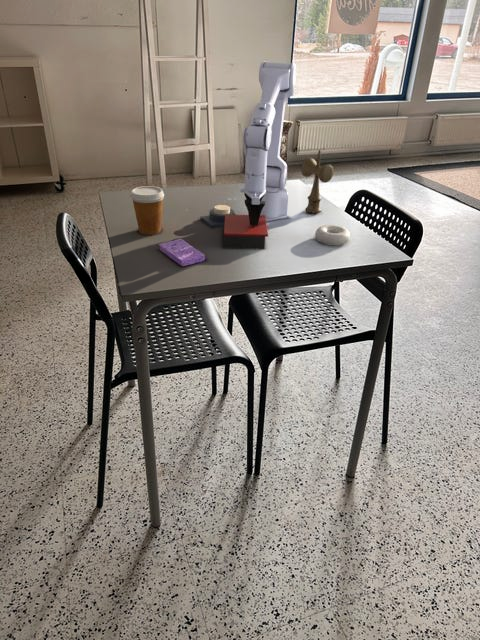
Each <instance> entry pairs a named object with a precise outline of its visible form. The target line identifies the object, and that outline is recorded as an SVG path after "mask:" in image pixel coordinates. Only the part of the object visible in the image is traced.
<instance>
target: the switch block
mask: <svg viewBox="0 0 480 640" xmlns="http://www.w3.org/2000/svg"><path fill="white" fill-rule="evenodd" d="M228 215H237V214H236V213H235V210H234V209H233V208H230V213H229V214H228ZM200 220H201V221H202V222H203V223H205V224H206V225H207V226H209V227H210V228H219V227H224V226H225V215H219V214H215V213H214V208H212V209H209V214H207V215H201V216H200Z"/></svg>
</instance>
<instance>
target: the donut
mask: <svg viewBox="0 0 480 640" xmlns="http://www.w3.org/2000/svg"><path fill="white" fill-rule="evenodd" d="M314 235H315V238H316V240H317V241H318V242H319V243H322V244H323V245H327V246H343V245H345V244H347V243H348V242H349V241H350V239H351V232H350V231H349V230H348V229H347V228H346V227H343V226H342V225H341V226H340V225H335V224H326V225H322V226H319V227H318V228H316V230H315V234H314Z"/></svg>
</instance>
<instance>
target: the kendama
mask: <svg viewBox="0 0 480 640" xmlns="http://www.w3.org/2000/svg"><path fill="white" fill-rule="evenodd" d="M321 152H322V151H321V150H320V149H319V150H318V152H317V157H316V158H317V159H316V160H315V158H313V157H308V158H306V159H304V160H303V161H302V164H301V168H300V171H301V175H302V176H303V177H305V178H306V177H307V178H309V177H312V176H313V175H314V178H313V183H312V186H311V191H310V194H309V195H308V196H307V197H306V198H307V200H308V201H307V202H308V203H307V206H306V207H305V208H304V210H305V212H306V213H308V214H320V213H321V212H322V209H321V207H320V202H321V200H322V197H321V195H320V182H322V183H328V182H330V181H331V180H332V179H333V176H334V166H333V165H332V164H325V165H323V166H321V155H322V153H321Z"/></svg>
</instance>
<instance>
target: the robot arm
mask: <svg viewBox="0 0 480 640" xmlns="http://www.w3.org/2000/svg"><path fill="white" fill-rule="evenodd" d="M296 79H297V65H296V63H295V62H277V61H266V60H263V61H262V62H261V63H260V65H259V69H258V82H259V84H260V88H261V91H262V92H261V97H260V102H258V103H257V104H255V106H254V109H253V111H252V115H251V119H250V122H249V125H248V126H246V127H245V128H244V131H243V137H242V138H243V139H242V143H243V148H244V149H243V153H244V154H243V155H244V156H245V164H244V165H245V166H244V167H245V168H244V187H240V188H239V191H240V193H243V195H244V198H245V199H244V205H245V207H246V210H247V213H248V214H247V215H249V222H250V225H258V222H259V218H260V215H265V216H266V222H271V221H276V220H282V219H287V218H289V215H288V206H289V192H288V191H287V189H286V186H287V179H288V165H287V163H286V161H285V160H283V158H282V157H281V156H280V155H281V147H282V138H283V130H284V128H283V127H284V120H285V113H286V112H285V111H286V105H287V102H288V98H290V97H293V96H294V93H295V88H296V83H297V81H296Z"/></svg>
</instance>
